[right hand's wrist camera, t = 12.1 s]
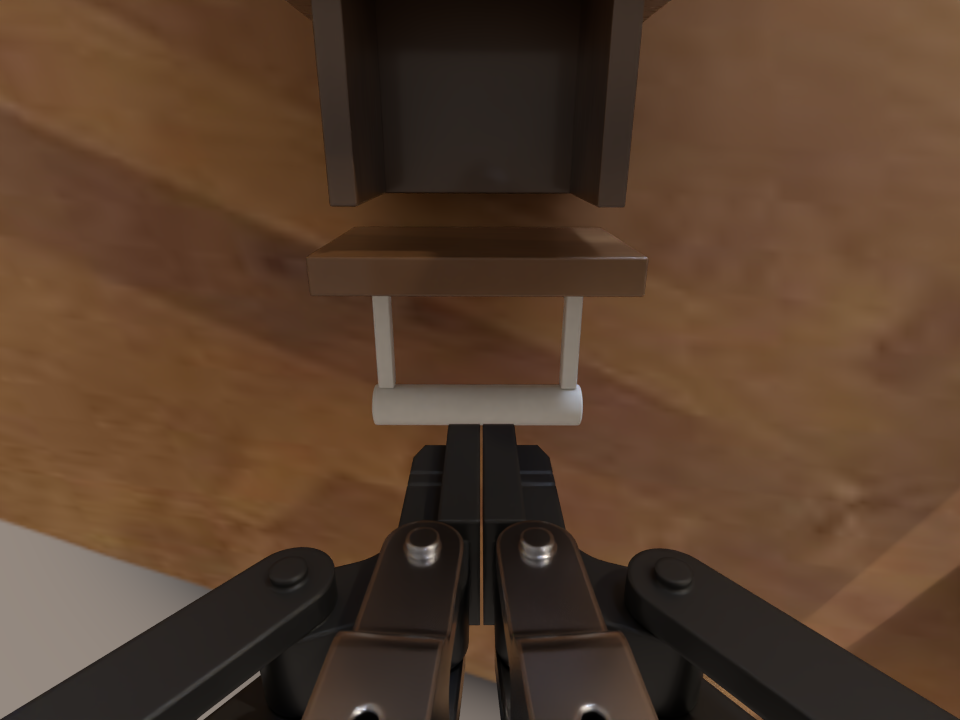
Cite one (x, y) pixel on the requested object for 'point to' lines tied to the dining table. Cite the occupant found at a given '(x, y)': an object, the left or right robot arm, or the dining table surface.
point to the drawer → (477, 170)
